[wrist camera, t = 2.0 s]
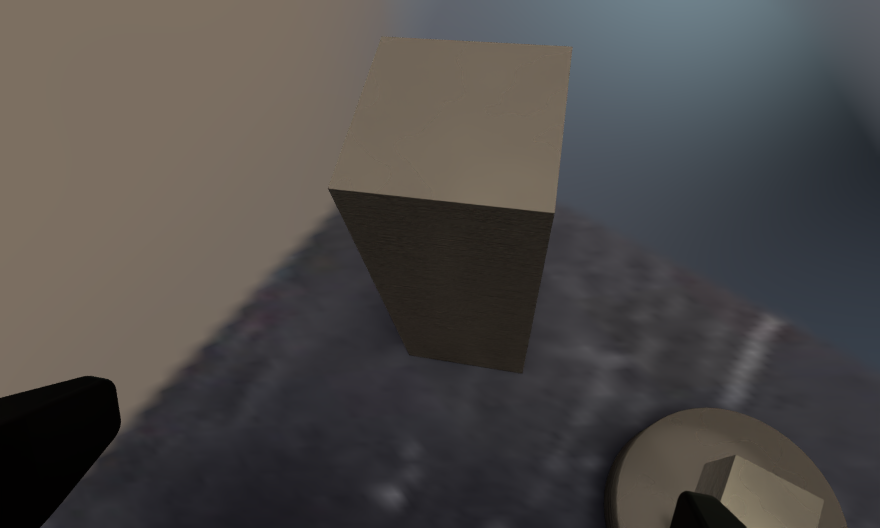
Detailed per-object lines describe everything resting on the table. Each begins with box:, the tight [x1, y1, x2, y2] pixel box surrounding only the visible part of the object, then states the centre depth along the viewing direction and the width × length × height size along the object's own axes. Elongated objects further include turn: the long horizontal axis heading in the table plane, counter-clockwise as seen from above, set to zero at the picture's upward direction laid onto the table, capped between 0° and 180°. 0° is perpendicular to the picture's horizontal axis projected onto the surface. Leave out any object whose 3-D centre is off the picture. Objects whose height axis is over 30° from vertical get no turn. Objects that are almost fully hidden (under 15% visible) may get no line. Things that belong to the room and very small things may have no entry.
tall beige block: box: [328, 37, 572, 373], centre depth 17 cm, size 5×5×12 cm
